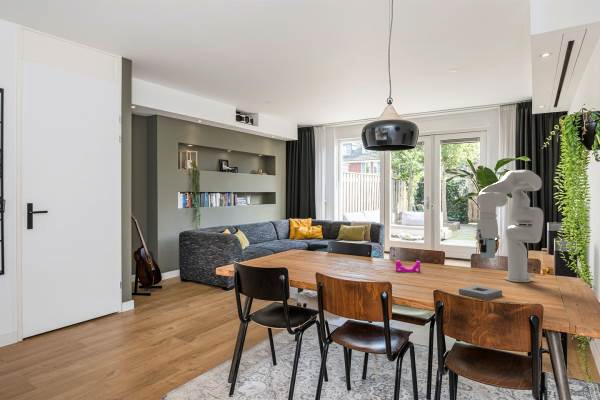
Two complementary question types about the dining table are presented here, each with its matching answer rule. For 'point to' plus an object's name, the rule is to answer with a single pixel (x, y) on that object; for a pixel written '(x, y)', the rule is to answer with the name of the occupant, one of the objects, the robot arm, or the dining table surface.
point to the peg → (489, 249)
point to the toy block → (404, 269)
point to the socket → (480, 292)
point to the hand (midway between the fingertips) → (487, 251)
